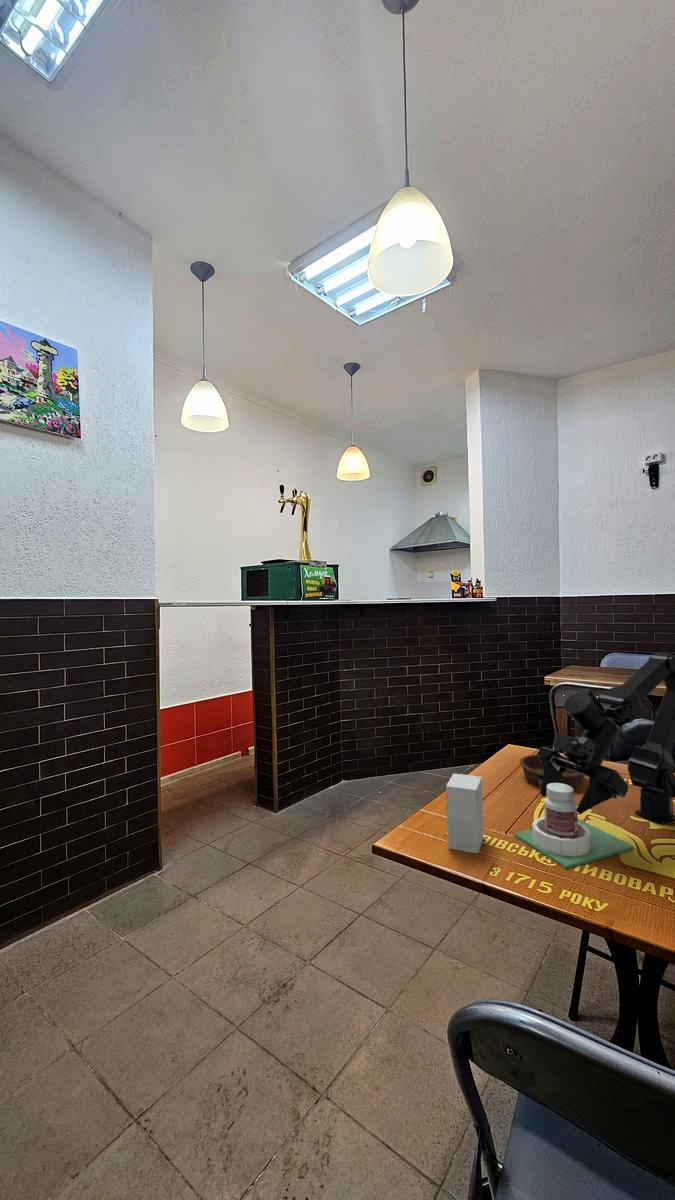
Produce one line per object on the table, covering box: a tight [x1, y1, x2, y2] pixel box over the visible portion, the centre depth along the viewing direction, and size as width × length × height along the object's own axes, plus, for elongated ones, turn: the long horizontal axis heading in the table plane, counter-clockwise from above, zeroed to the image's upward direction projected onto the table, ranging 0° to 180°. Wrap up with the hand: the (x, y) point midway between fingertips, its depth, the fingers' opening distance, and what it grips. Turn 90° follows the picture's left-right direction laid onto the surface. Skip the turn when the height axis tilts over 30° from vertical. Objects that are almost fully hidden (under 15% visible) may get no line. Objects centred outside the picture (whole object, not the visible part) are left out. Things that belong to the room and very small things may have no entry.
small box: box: [445, 773, 484, 854], centre depth 102 cm, size 8×6×13 cm
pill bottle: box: [544, 783, 579, 839], centre depth 100 cm, size 6×6×11 cm
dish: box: [519, 754, 585, 789], centre depth 135 cm, size 18×22×5 cm
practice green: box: [513, 816, 635, 870], centre depth 101 cm, size 18×14×4 cm
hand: (559, 803), depth 100 cm, fingers open, 9 cm apart
